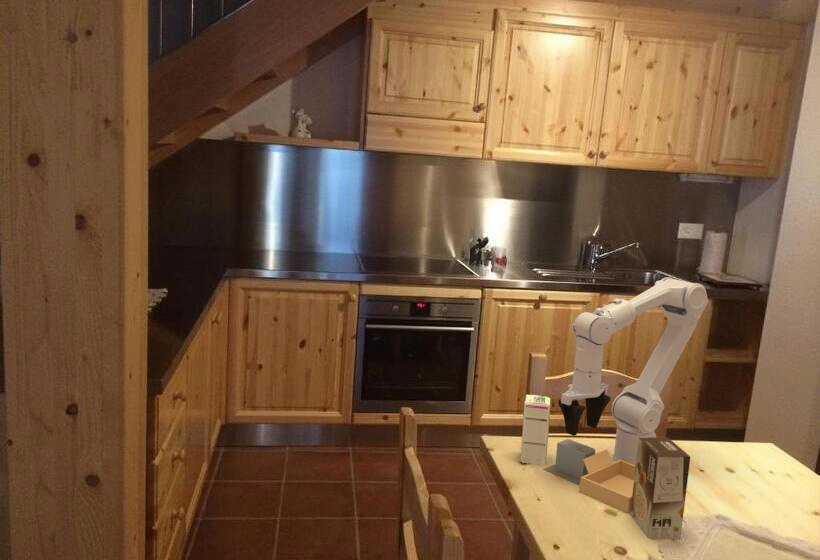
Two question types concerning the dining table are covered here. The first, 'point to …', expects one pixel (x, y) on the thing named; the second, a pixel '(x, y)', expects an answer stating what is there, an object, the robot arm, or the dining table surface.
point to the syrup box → (535, 429)
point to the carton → (608, 481)
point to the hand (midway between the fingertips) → (581, 430)
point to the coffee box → (659, 487)
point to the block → (572, 458)
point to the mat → (562, 474)
